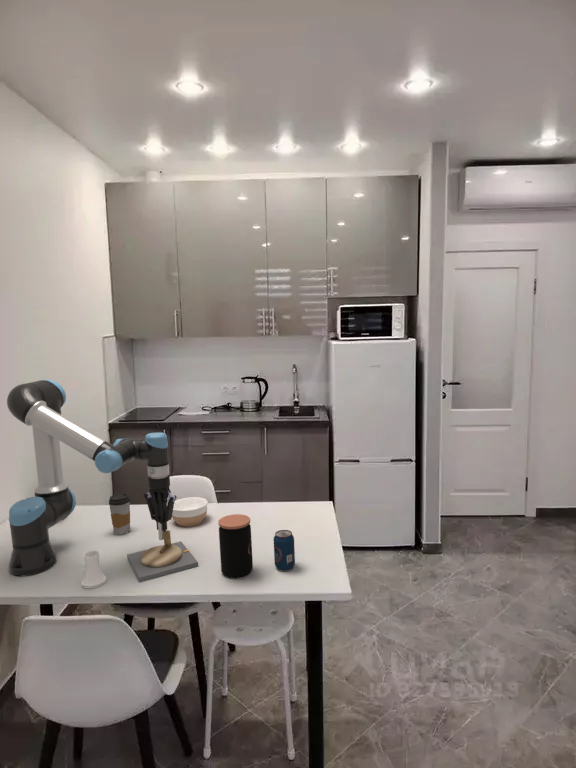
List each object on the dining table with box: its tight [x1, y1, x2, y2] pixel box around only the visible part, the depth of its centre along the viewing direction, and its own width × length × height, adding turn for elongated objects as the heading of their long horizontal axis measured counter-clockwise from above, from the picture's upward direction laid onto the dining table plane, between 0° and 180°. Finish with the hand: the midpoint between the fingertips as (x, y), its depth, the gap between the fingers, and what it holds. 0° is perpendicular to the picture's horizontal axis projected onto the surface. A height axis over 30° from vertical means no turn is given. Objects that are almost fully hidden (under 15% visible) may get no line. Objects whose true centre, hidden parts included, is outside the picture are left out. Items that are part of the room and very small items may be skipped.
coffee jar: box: [217, 513, 254, 580], centre depth 170 cm, size 11×11×18 cm
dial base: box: [126, 541, 199, 583], centre depth 181 cm, size 20×20×2 cm
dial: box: [141, 529, 182, 567], centre depth 180 cm, size 14×14×7 cm
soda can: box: [273, 529, 296, 572], centre depth 173 cm, size 7×7×12 cm
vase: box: [81, 550, 107, 590], centre depth 168 cm, size 8×8×10 cm
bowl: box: [172, 496, 209, 527], centre depth 217 cm, size 16×16×8 cm
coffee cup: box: [108, 493, 131, 535], centre depth 208 cm, size 8×8×15 cm
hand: (162, 538), depth 186 cm, fingers closed
